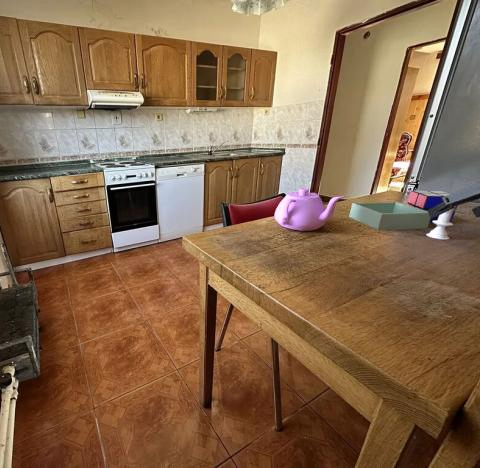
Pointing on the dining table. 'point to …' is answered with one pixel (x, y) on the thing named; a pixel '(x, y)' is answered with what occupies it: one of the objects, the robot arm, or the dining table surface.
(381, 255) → the dining table surface
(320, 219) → the teapot
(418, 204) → the puzzle cube
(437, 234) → the candle
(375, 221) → the bin
